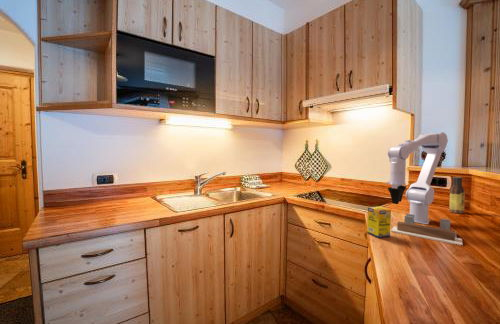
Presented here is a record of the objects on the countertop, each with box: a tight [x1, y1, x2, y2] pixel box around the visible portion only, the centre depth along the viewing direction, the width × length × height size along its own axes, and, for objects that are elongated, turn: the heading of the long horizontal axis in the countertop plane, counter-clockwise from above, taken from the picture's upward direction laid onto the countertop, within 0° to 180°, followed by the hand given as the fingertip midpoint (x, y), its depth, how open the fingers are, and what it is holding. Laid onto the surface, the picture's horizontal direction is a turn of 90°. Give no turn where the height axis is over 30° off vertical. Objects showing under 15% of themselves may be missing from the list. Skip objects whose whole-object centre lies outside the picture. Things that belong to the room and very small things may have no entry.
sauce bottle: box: [448, 176, 466, 215], centre depth 128 cm, size 7×6×20 cm
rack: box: [404, 213, 458, 238], centre depth 98 cm, size 6×19×6 cm, turn 49°
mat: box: [390, 225, 463, 247], centre depth 92 cm, size 7×22×1 cm, turn 49°
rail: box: [396, 221, 456, 241], centre depth 92 cm, size 3×18×3 cm, turn 49°
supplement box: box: [366, 206, 392, 239], centre depth 92 cm, size 6×6×11 cm
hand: (396, 202), depth 105 cm, fingers open, 7 cm apart
